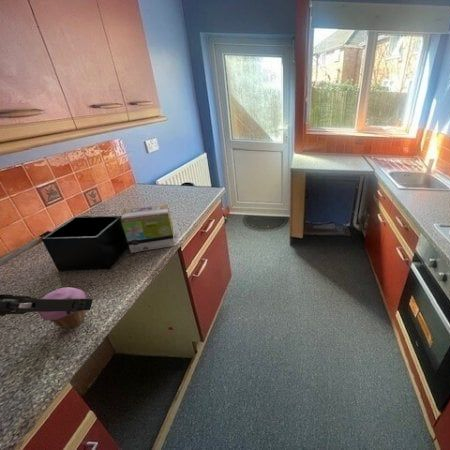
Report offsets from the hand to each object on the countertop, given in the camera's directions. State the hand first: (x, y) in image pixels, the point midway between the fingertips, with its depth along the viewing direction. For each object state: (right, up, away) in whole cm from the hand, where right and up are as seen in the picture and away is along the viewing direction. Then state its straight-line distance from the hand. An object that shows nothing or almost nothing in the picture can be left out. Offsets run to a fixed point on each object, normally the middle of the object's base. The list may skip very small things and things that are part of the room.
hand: (62, 303), depth 62 cm
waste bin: (-14, +8, +28) cm, 32 cm away
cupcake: (0, -6, +3) cm, 7 cm away
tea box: (+1, +12, +37) cm, 39 cm away
